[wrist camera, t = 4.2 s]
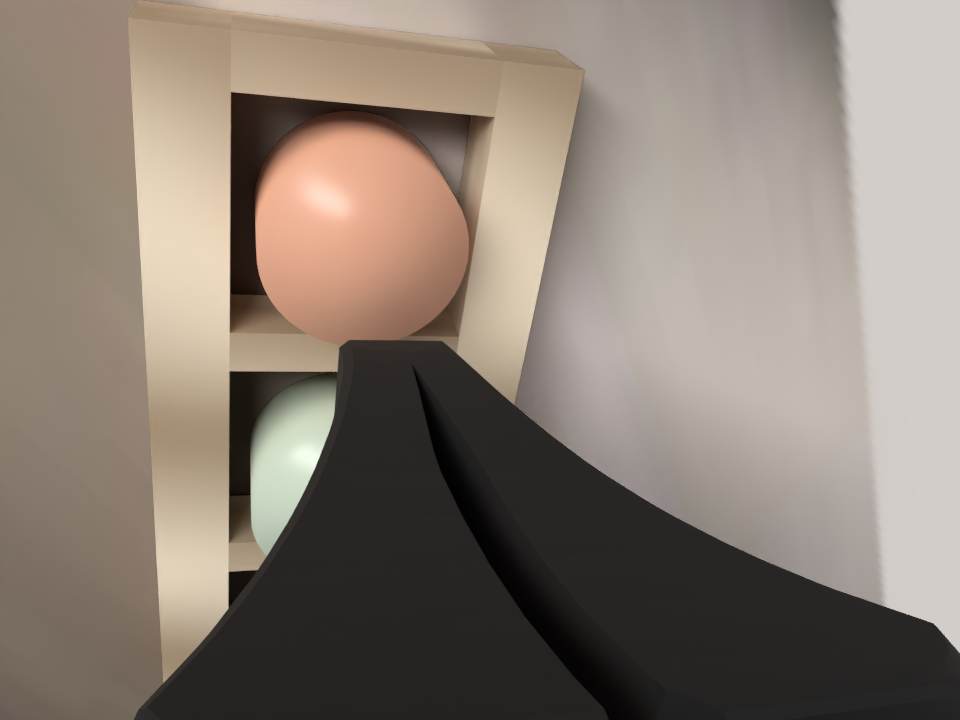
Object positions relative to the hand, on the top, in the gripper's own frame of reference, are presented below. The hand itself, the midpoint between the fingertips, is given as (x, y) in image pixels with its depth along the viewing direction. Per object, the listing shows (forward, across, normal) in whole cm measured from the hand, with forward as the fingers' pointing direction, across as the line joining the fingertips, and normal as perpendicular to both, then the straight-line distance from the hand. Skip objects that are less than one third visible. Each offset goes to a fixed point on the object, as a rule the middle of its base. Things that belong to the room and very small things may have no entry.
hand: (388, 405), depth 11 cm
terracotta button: (+6, 0, -1) cm, 6 cm away
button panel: (+6, 0, +4) cm, 7 cm away
